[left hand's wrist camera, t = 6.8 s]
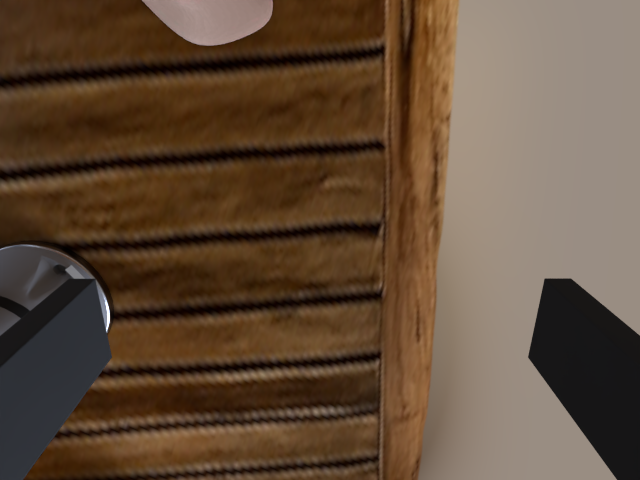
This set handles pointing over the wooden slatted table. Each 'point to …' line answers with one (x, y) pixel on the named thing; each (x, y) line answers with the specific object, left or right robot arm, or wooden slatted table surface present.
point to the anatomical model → (212, 18)
